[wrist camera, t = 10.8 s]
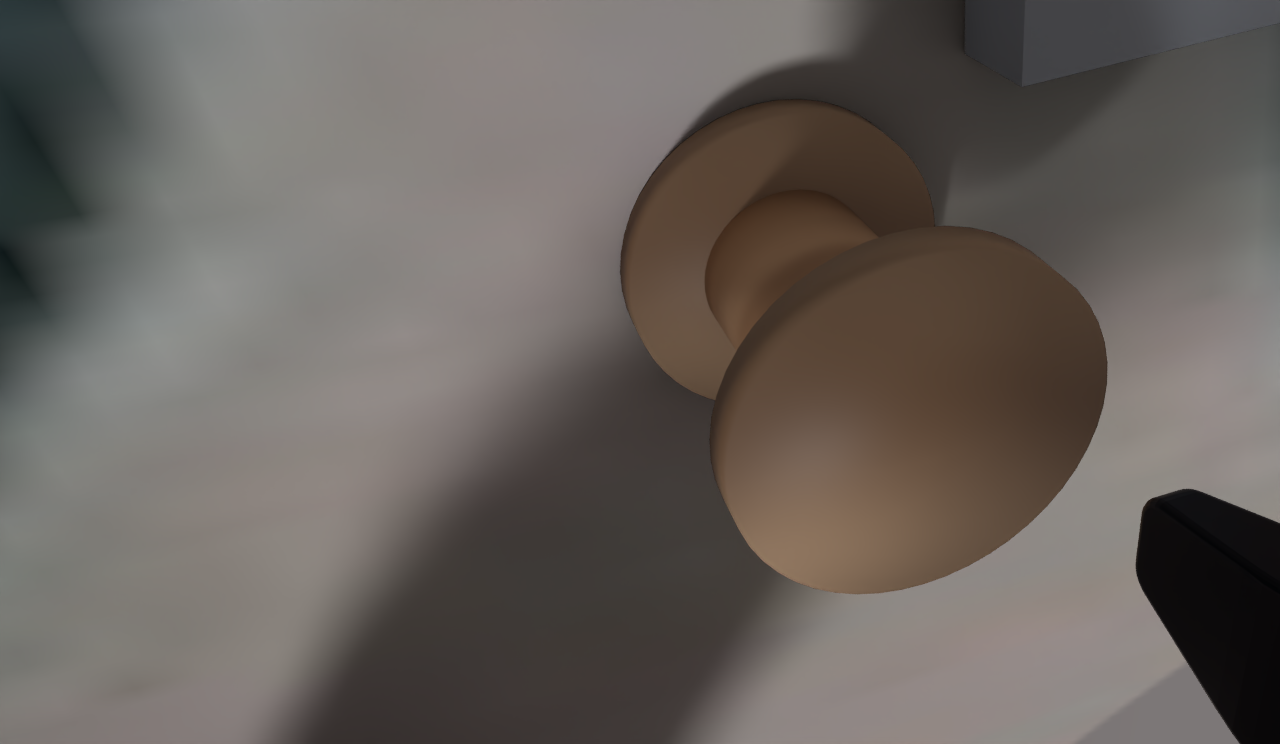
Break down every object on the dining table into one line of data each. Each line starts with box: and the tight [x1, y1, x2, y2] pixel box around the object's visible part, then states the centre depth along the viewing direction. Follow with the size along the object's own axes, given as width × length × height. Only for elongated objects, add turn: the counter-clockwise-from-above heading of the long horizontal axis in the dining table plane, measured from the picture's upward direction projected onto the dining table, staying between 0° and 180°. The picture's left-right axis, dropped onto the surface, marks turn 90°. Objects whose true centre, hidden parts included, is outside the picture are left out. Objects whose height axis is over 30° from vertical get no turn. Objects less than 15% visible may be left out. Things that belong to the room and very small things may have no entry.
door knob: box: [620, 99, 1107, 594], centre depth 19 cm, size 6×6×6 cm
